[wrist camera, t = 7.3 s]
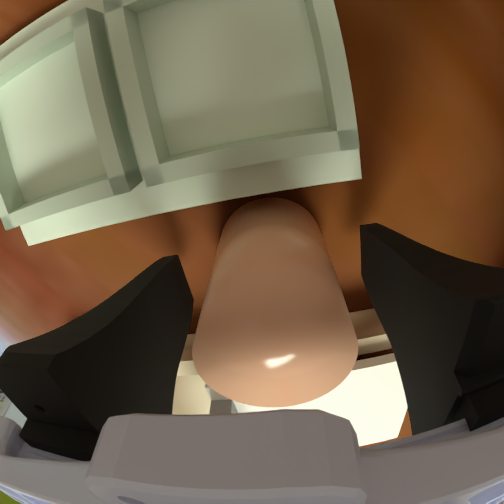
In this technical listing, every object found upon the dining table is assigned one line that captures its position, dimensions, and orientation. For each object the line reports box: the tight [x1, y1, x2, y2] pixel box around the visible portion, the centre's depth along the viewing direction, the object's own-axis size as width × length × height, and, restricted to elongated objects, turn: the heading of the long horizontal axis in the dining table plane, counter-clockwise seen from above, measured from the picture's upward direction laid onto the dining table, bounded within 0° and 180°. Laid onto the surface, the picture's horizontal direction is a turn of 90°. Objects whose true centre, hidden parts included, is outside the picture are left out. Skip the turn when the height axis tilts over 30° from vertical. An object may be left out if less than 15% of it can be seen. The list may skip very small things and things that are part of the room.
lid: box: [205, 353, 407, 446], centre depth 13 cm, size 10×8×3 cm
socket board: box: [0, 0, 362, 246], centre depth 9 cm, size 14×9×2 cm, turn 101°
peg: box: [192, 197, 358, 407], centre depth 10 cm, size 4×4×6 cm
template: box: [172, 308, 392, 415], centre depth 16 cm, size 17×10×2 cm, turn 101°
